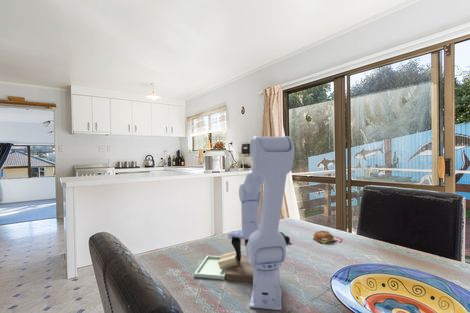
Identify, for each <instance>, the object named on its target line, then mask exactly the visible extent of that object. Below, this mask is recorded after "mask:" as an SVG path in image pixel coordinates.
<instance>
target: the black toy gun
mask: <svg viewBox="0 0 470 313" xmlns="http://www.w3.org/2000/svg"><path fill="white" fill-rule="evenodd" d="M279 232H280V233H281V234H282V235H283V237H284V239H285V242H286V244H288V243H289V242H290V241H291V239H290V237H289V236H288V235H286V234H285V233H283V232H281V231H279ZM248 240H249V239H244V245H245V246H246V245H247V243H248Z"/></svg>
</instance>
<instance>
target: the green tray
mask: <svg viewBox="0 0 470 313" xmlns="http://www.w3.org/2000/svg"><path fill="white" fill-rule="evenodd" d="M221 256H222V255H206V257H204V259H203V260H202V262H201V263H200V265H199V266H198V267H197V269H196V270H195V271H194V273H193V277H194V278H199V279H209V280H210V279H211V280H213V279H214V280H226V272H227V270H228V268H229V267H228V268H224V269H220V267H219V264H218V261H219V260H220V258H221Z"/></svg>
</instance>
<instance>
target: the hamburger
mask: <svg viewBox="0 0 470 313" xmlns="http://www.w3.org/2000/svg"><path fill="white" fill-rule="evenodd" d="M335 237H336V238H337V239H335ZM312 238H313V239H314V240H315V241H316V242H318V243H322V244H326V243H327V244H328V243H331V242H333V241H334V242H335V241H336V242H337V241H339V242H338V243H339V244H340V243H342V242H343V240H344V239H343V238H341V237H338V236H334V235H333V234H331V232H329V231H328V230H317V231H316V232H314V233H313V236H312ZM338 238H339V239H338ZM344 242H345V240H344Z"/></svg>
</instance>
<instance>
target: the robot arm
mask: <svg viewBox="0 0 470 313" xmlns="http://www.w3.org/2000/svg"><path fill="white" fill-rule="evenodd" d="M295 152H296V151H295V145H294V141H293V140H292V138H291V137H290V136H288V135H285V136H258V135H254V136H253V137H252V138H251V140H250V143H249V154H250V158H251V159H252V160H251V161H252V167H251V170H249V171H248V172H247V174H246V176H245V179H244V182H243V183H241V184H240V185H239V186H238V196H239V202H241V205H240V206H241V208H240V209H241V212H240V213H241V230H238V231H229V232H228V239H229V240H231V241H230V242H231V245H232V247H233V248H234V251H236V254H237V258H238V261H240V260H241V255H242V253H241V252H242V251H241V250H242V248H241V244H242V243H241V242H242V240H245V239H249V240H248V243H247V245H245V246H246V248H245V253H246V256H247V259H248V262H249V263H250V264H251V265H252V266H253V282H252V292H251V297H250V302H249V307H250V308H256V309H264V310H266V309H267V310H274V311H282V288H281V287H280V286H281V285H280V283H281V282H280V278H281V277H280V267H282V265H283V264H282V263H284V262H285V260H286V258H287V246H286V245H287V243H286V242H285V239H284V237H283V235H282V234H281V233H280V232H281V231H279V224H280V220H281V219H280V218H281V212H282V206H283V199H284V194H285V187H286V181H287V175H288V174H290V173H291V172H292V168H293V163H294V158H295ZM262 187H263V190H262ZM261 190H262V193H261ZM261 197H262V198H261ZM260 205H261V207H260ZM259 207H260V208H261V209H260V213H259ZM259 214H260V216H259Z"/></svg>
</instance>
